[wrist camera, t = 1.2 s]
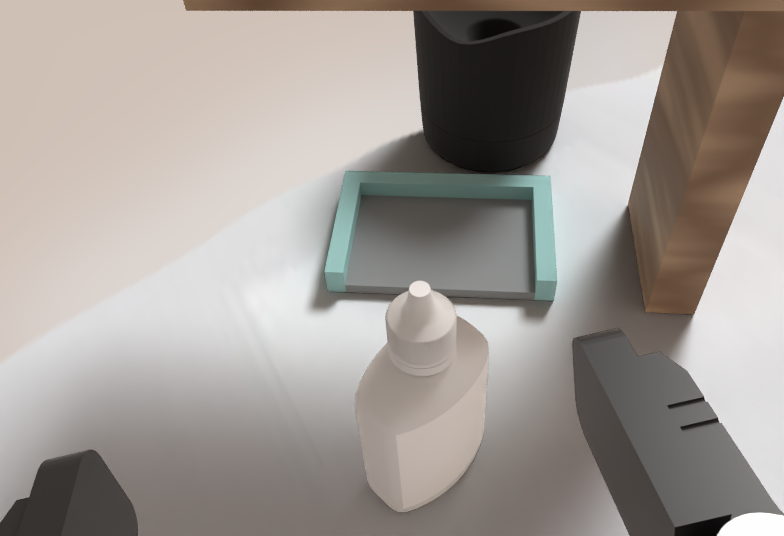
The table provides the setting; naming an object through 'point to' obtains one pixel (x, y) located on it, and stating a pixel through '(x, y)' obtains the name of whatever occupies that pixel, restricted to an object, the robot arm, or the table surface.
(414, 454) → the eye dropper bottle
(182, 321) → the table surface
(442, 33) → the pen holder
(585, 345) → the robot arm
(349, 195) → the mint green tray
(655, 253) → the shelf
